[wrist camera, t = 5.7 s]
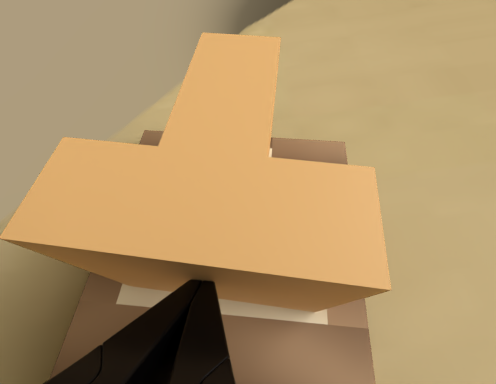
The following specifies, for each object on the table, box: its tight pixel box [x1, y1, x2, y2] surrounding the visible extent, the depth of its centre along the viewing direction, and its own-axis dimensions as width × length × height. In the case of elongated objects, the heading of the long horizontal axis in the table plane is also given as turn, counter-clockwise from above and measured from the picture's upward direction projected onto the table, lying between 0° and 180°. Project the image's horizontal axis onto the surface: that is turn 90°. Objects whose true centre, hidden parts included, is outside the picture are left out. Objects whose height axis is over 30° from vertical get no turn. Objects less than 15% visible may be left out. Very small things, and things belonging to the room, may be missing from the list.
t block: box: [0, 33, 391, 312], centre depth 12 cm, size 10×10×8 cm
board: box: [50, 130, 375, 384], centre depth 14 cm, size 21×15×2 cm
